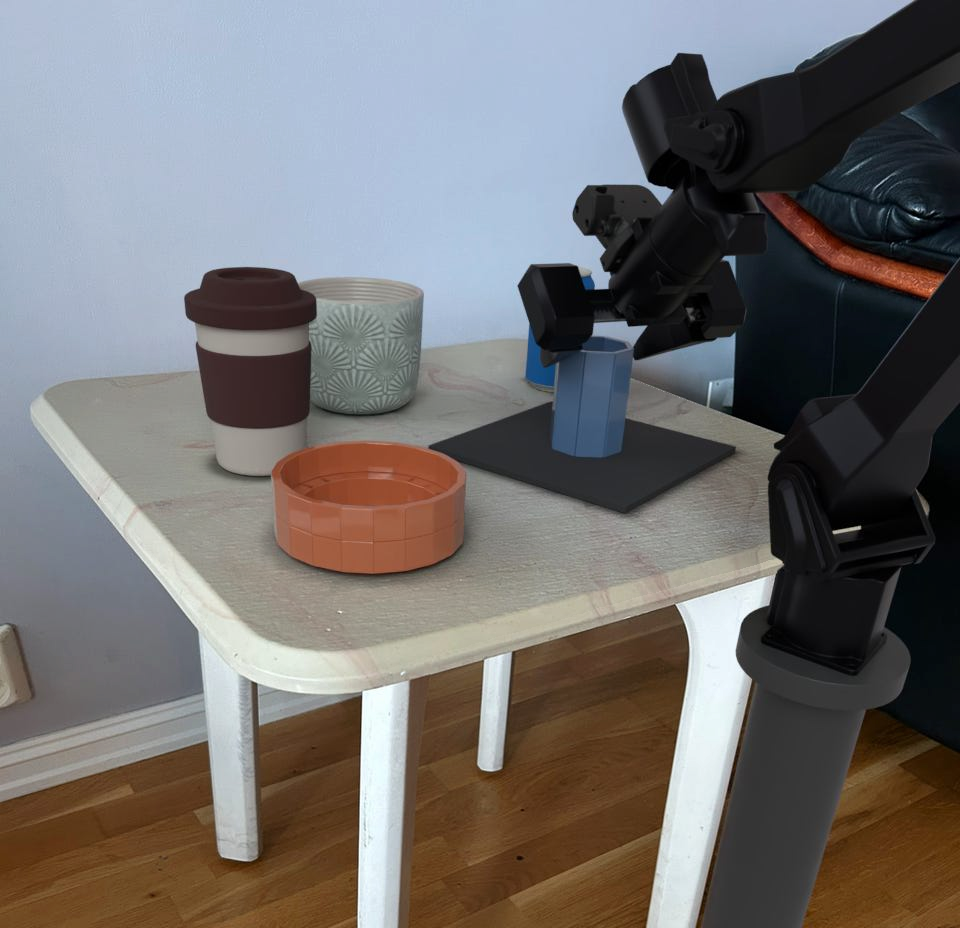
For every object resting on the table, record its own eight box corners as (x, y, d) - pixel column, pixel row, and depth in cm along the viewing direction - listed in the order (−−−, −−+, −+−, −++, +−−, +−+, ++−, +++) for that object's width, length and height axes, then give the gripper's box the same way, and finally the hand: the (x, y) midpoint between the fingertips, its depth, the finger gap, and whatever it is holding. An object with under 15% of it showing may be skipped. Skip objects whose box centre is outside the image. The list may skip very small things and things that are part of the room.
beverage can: (585, 380, 109) (597, 266, 103) (583, 396, 104) (595, 277, 98) (527, 375, 110) (535, 262, 104) (522, 391, 104) (530, 272, 98)
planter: (441, 416, 95) (444, 299, 90) (318, 428, 90) (313, 305, 85) (395, 382, 105) (395, 274, 100) (281, 391, 100) (275, 278, 95)
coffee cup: (340, 474, 81) (335, 282, 73) (221, 491, 76) (203, 289, 69) (297, 437, 88) (288, 260, 80) (186, 451, 84) (166, 265, 76)
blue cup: (624, 458, 85) (637, 354, 81) (553, 456, 85) (563, 351, 81) (614, 436, 91) (626, 336, 86) (547, 433, 91) (556, 333, 86)
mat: (735, 452, 90) (736, 446, 90) (625, 513, 76) (626, 506, 76) (554, 405, 100) (554, 399, 100) (428, 451, 86) (428, 445, 86)
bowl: (500, 537, 71) (504, 472, 69) (375, 600, 62) (375, 526, 59) (366, 490, 78) (365, 428, 75) (236, 540, 69) (230, 471, 66)
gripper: (750, 150, 76) (651, 274, 90) (539, 145, 69) (466, 281, 83) (798, 275, 74) (688, 382, 88) (585, 283, 67) (503, 399, 81)
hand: (589, 358), depth 85 cm, fingers open, 9 cm apart
